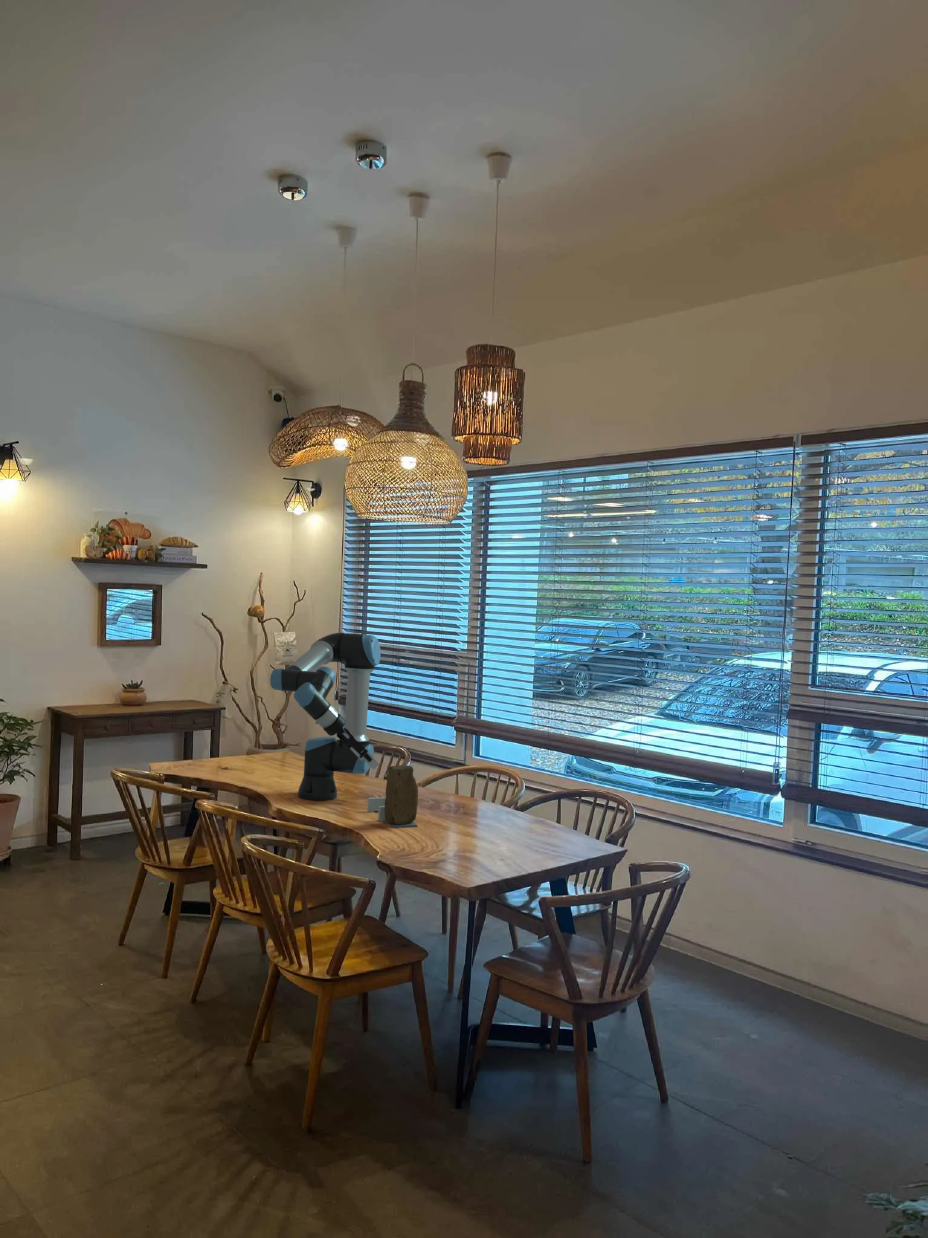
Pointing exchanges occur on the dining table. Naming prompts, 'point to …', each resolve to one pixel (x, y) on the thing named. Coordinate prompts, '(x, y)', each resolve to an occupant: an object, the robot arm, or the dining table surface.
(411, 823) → the mat
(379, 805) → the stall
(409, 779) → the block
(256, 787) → the dining table surface
